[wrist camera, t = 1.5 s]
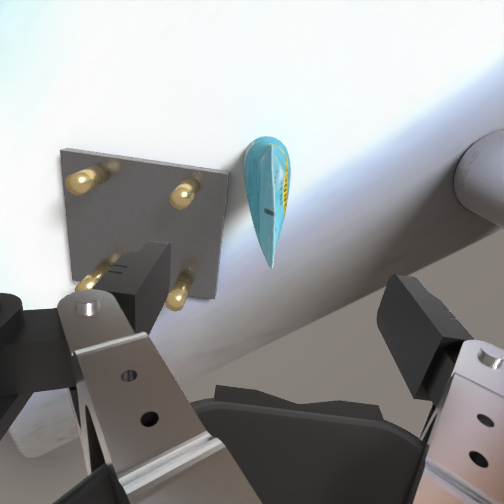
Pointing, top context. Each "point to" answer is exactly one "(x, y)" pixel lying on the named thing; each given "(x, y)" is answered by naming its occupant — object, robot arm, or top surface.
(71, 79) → the top surface
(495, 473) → the robot arm
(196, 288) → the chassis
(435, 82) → the top surface
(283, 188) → the tube
